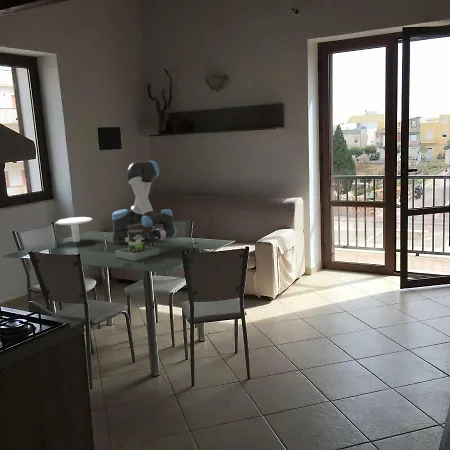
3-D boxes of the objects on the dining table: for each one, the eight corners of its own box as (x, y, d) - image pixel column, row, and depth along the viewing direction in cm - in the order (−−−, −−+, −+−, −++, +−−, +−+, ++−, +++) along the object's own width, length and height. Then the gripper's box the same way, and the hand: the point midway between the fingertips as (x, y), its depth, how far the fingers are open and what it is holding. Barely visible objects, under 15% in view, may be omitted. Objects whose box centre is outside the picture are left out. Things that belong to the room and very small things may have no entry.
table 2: (81, 245, 351) (78, 223, 348) (49, 244, 360) (46, 222, 357) (102, 237, 377) (100, 216, 374) (72, 237, 386) (69, 216, 383)
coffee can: (147, 252, 311) (145, 230, 309) (131, 254, 306) (130, 233, 304) (142, 249, 320) (140, 228, 318) (127, 251, 316) (125, 230, 313)
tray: (115, 257, 313) (115, 251, 312) (139, 250, 328) (139, 244, 327) (135, 261, 300) (134, 254, 299) (159, 254, 315) (159, 248, 314)
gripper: (169, 242, 318) (142, 249, 302) (147, 238, 333) (120, 244, 317) (168, 230, 317) (141, 237, 301) (146, 227, 332) (119, 233, 315)
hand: (131, 241), depth 309 cm, fingers closed on coffee can, 10 cm apart
